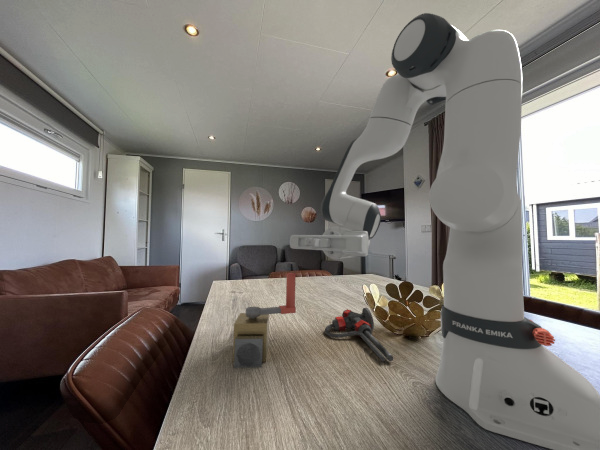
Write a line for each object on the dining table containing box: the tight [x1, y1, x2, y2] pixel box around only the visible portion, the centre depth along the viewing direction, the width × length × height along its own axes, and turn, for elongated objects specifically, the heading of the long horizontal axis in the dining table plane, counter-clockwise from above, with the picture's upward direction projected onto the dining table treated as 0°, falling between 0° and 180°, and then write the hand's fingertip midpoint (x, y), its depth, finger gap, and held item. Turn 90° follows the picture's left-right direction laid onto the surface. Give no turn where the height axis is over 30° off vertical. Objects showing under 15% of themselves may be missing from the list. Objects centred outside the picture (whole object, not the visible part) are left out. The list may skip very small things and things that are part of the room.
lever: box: [245, 272, 297, 318], centre depth 54 cm, size 12×3×9 cm, turn 109°
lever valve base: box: [232, 312, 270, 369], centre depth 52 cm, size 11×7×8 cm, turn 4°
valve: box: [324, 307, 394, 362], centre depth 61 cm, size 6×26×15 cm
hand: (309, 242), depth 51 cm, fingers closed
